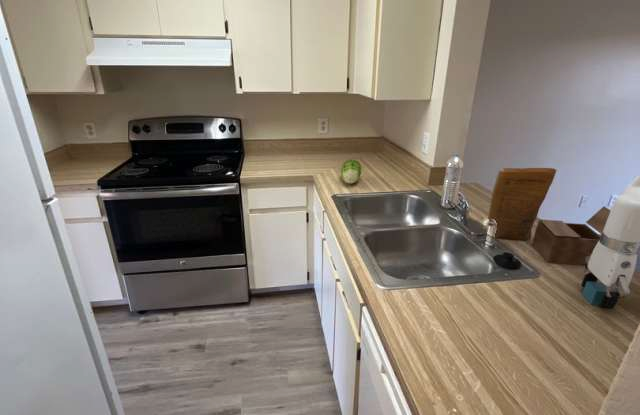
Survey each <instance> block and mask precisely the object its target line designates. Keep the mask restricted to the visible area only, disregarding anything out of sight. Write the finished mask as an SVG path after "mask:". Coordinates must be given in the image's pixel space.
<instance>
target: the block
mask: <svg viewBox="0 0 640 415" xmlns="http://www.w3.org/2000/svg"><path fill="white" fill-rule="evenodd" d="M611 290H612V292H615V291H614V290H613V289H612V288H611ZM604 294H606V285H604V284H603V283H602V282H601V281H597V282H590V281H587V282H586V285H585V287H584V288H583V290H582V293H581V295H582V296H583V297H584V298H585V300H586V301H587V302H588V303H589V305H593V306H594V305H595V306H599V305H600V302H601V300H602V298H603V295H604Z"/></svg>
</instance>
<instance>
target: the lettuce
mask: <svg viewBox="0 0 640 415" xmlns="http://www.w3.org/2000/svg"><path fill="white" fill-rule="evenodd" d="M362 169H363V168H362V165H361V163H360V162H359V161H358V160H356V159H354V158H353V159H352V158H351V159H347V160H345V161H344V162H343V163H342V165H341V168H340V175H341V178H342V180H343V181H344V182H345V183H346V184H350V185H351V184H355V183H356V182H358V180H359V179H360V177H361V176H362Z"/></svg>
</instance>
